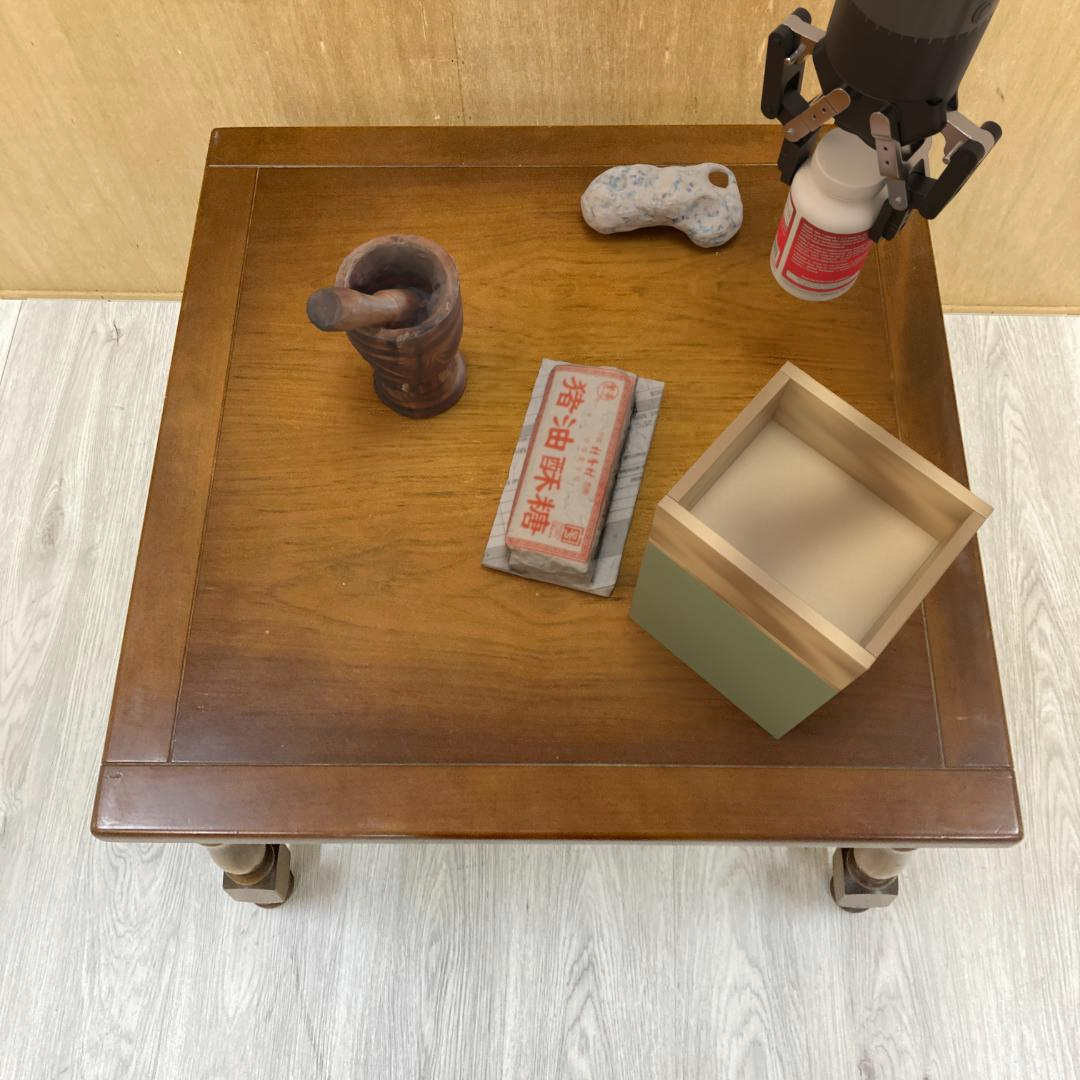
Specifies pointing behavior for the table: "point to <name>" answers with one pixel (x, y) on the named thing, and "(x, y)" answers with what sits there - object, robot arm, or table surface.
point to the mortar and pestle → (400, 320)
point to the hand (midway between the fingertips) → (836, 203)
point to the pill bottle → (829, 218)
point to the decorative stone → (665, 201)
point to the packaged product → (575, 476)
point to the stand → (724, 646)
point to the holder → (816, 525)
